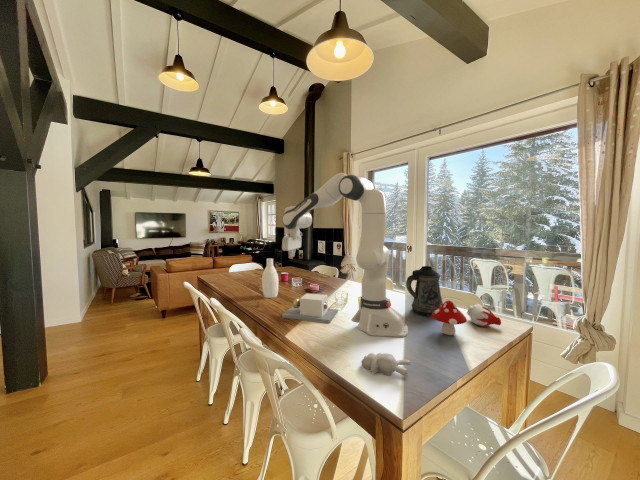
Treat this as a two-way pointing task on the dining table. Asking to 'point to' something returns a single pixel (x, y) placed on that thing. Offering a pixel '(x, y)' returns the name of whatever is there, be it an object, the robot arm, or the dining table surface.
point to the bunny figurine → (384, 364)
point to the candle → (482, 315)
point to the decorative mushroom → (449, 317)
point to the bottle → (270, 280)
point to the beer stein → (425, 291)
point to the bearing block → (311, 309)
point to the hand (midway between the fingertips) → (292, 256)
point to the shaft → (297, 303)
